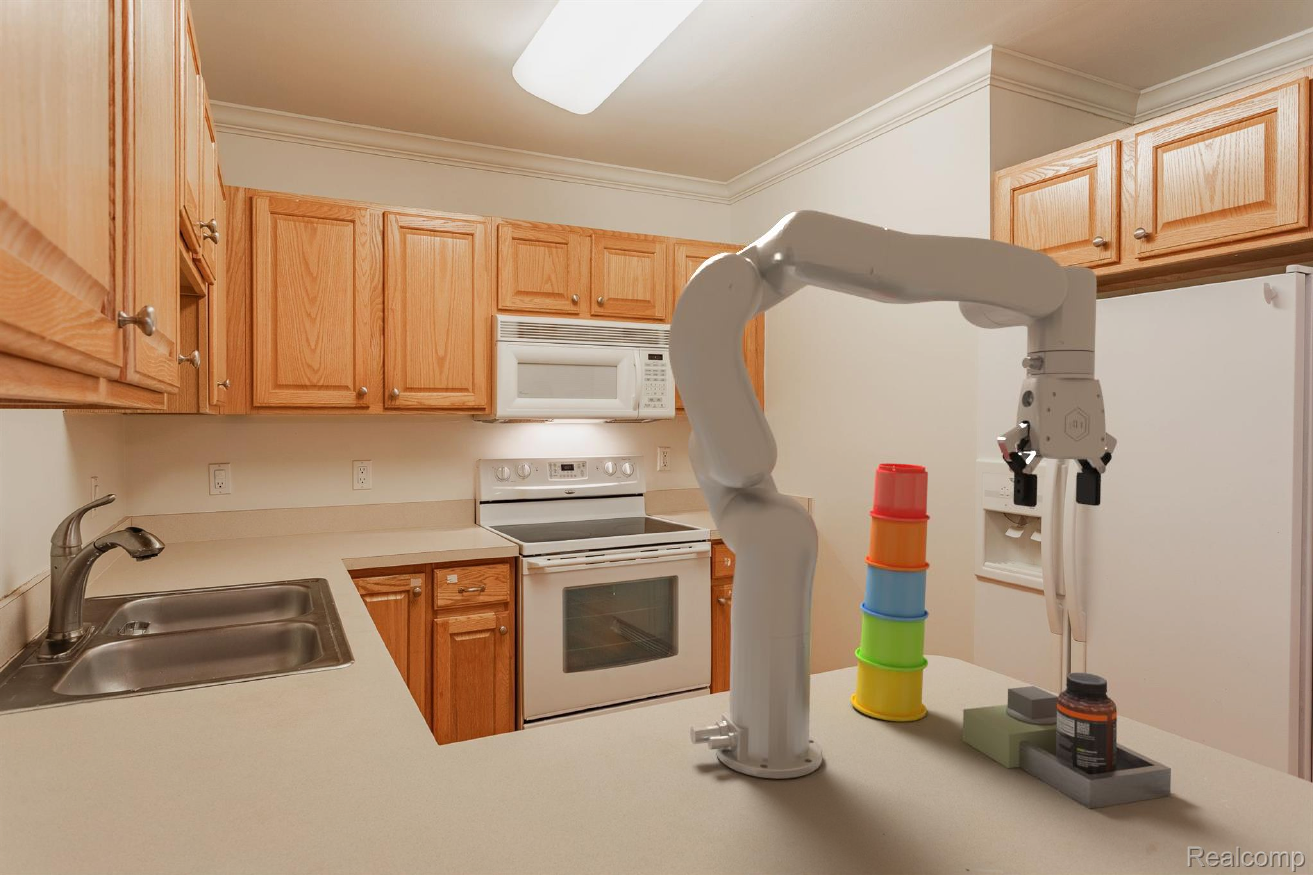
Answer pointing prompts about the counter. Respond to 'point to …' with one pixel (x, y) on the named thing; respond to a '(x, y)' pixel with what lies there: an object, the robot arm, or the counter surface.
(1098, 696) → the supplement bottle
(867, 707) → the stacking cups
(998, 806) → the counter surface
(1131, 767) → the grey square tray
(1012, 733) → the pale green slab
